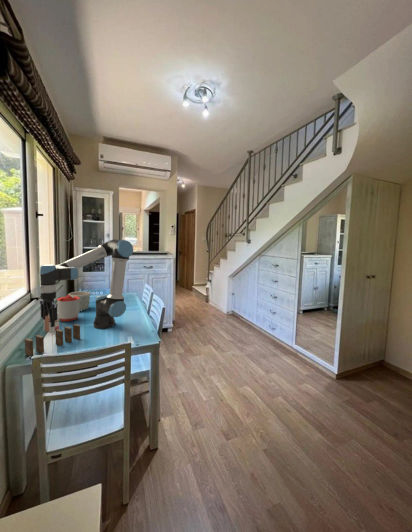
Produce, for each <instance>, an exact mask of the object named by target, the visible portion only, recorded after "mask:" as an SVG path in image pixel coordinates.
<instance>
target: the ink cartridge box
mask: <svg viewBox="0 0 412 532" xmlns="http://www.w3.org/2000/svg"><path fill="white" fill-rule="evenodd" d="M48 315H49V314H48ZM57 329H59V330H60V319H59V313H58V312H57V320H56V321H55V330H57Z"/></svg>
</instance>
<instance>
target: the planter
mask: <svg viewBox="0 0 412 532" xmlns="http://www.w3.org/2000/svg"><path fill="white" fill-rule="evenodd" d="M67 295H70V296H71V297H72V298H73V297H74V296H77V297H79V312H82V311H81V310H84V311H86V310H87V309H88V308H90V307H89V306H90V300H91V299H90V298H91V297H90V296H91V292H89V291H83V290H82V291H81V290H80V291H72V292H70V293H68V294H67ZM85 309H86V310H85Z"/></svg>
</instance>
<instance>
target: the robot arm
mask: <svg viewBox="0 0 412 532" xmlns="http://www.w3.org/2000/svg"><path fill="white" fill-rule="evenodd" d="M133 253H134V246H133V244H132V243H131V242H130V241H128V240H126V239H111V240H108V241H106V242H103V243H101V244H99V245H98V246H97V247H95V248H94V249H91V250H89V251H86V252H85V253H82V254H80V255H78V256H76V257H72V258H70V259H68V260H66V261H64V262H62V263H59V264H42V265H40V267H39V281H40V282H39V283H40V287H39V289H40V299H41V300H40V301H39V304H40V318H41V319H42V320H43V331H44V332H46V331H45V316H47V315H48V314H49V318H50V321H49V332H48V333H50V334H51V333H55V321H56V320H57V313H58V311H57V306H58V304H57V303H55V299H57V292H56V291H57V281H59V282H60V281H73V280H77V279H78V278H79V270H78V269H81V268H82V267H85V266H87V265H89V264H91V263H93V262H95V261H98V260H100V259H102V258H107V257H111V259H112V261H113V262H112V263H113V264H112V272H111V281H110V285H109V287H110V288H109V293H108V294H100V295H97V296H96V297H95V318H94V320H93V328H95V329H98V330H99V329H102V330H104V329H109V327H110V328H112V326H113V325H114V326H115V325H116V320H115V318H119V317H121V316H122V315H123V314H124V313H125V312H126V310H127V304H126V303H125V302H124V301H125V297H124V295H123V294H124V293H123V292H124V285H125V284H124V283H125V277H126V269H127V262H128V261H129V260H130V257H131V256H132V254H133ZM114 326H113V327H114Z"/></svg>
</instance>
